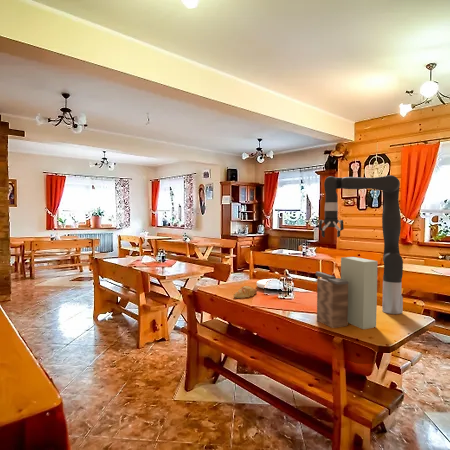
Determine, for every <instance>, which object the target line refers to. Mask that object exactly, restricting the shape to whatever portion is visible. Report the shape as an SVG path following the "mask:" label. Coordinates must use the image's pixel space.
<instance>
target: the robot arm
mask: <svg viewBox="0 0 450 450" xmlns="http://www.w3.org/2000/svg"><path fill="white" fill-rule="evenodd" d="M323 185H324V186H323V187H324V194H325V196H324V198H325V199H324V220H323V219H319V220H318V230H320V231H321V236H322V238H325V235H326V234H325V233H326V229H327V228H335V229H336V232H337V233H336V237H337V238H340V237H341V232H342V231H344V227H345V226H344V219H338V218H339V217H338V215H339V203H338V201H339V200H338V193H337V189H338V190H339V189H340V190H341V189H343V190H344V189H345V190H366V189H367V190H378V191H382V193H383V208H382V214H381V220H382V221H381V225H382V227H381V228H382V235H383V236H382V237H383V244H384V245H383V257H382V262H383V274H382V308H381V309H382V312H383V313H385V314H388V315H389V314H390V315H399V314H403V311H404V310H403V305H404V301H403V300H404V296H403V295H402V283H403V282H402V279H403V276H404V275H403V271H404V270H403V269H404V260H403V257H402V256H401V254H400V244H399V243H400V242H399V241H400V236H401V231H402V230H401V229H402V220H401V208H400V203H399V198H400V186H401V183H400V179H399V178H398V177H396V176H395V175H393V174H391V175H384V176H379V177H377V176H376V177H363V176H361V177H360V176H359V177H358V176H344V177H336V176H332V175H331V176H327V177H326V178H325V179H324V182H323ZM323 223H324V225H323ZM338 224H339V225H338ZM322 225H323V226H322Z"/></svg>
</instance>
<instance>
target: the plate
mask: <svg viewBox="0 0 450 450" xmlns="http://www.w3.org/2000/svg"><path fill="white" fill-rule="evenodd" d="M272 279H273V278H267V279H266V278H264V279H260V280H257V281H256V286H257V287H258V288H261V289H264V286H265V284H266V282H267V281H268V280H272ZM291 282H292V281H291ZM294 285H295V284H294V282H292V286H293V287H294Z"/></svg>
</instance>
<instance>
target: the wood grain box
mask: <svg viewBox="0 0 450 450" xmlns="http://www.w3.org/2000/svg"><path fill="white" fill-rule="evenodd" d="M316 281H317V284H316V285H317V286H316V287H317V289H316V293H317V295H316V298H317V299H316V322H319V323H321V324H323V325H325V326H327V327H329V328H331V329H336V328H341V327H348V324H349V323H348V284H340V285H337V284H334V283H332V282H329V281H328V280H327V279H324V278H321V277H319V278H317V280H316Z"/></svg>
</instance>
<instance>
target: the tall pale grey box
mask: <svg viewBox="0 0 450 450" xmlns="http://www.w3.org/2000/svg"><path fill="white" fill-rule="evenodd" d="M340 279H343V280H346V281H349V284H348V324H351V326H355V327H357V328H359V329H361V330H367V329H368V330H369V329H373V328H374V327H375V328H377V310H378V309H377V307H378V306H377V305H378V304H377V303H378V301H377V300H378V260H374V259H367V258H362V257H356V256H347V257H346V256H344V257H340Z"/></svg>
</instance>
